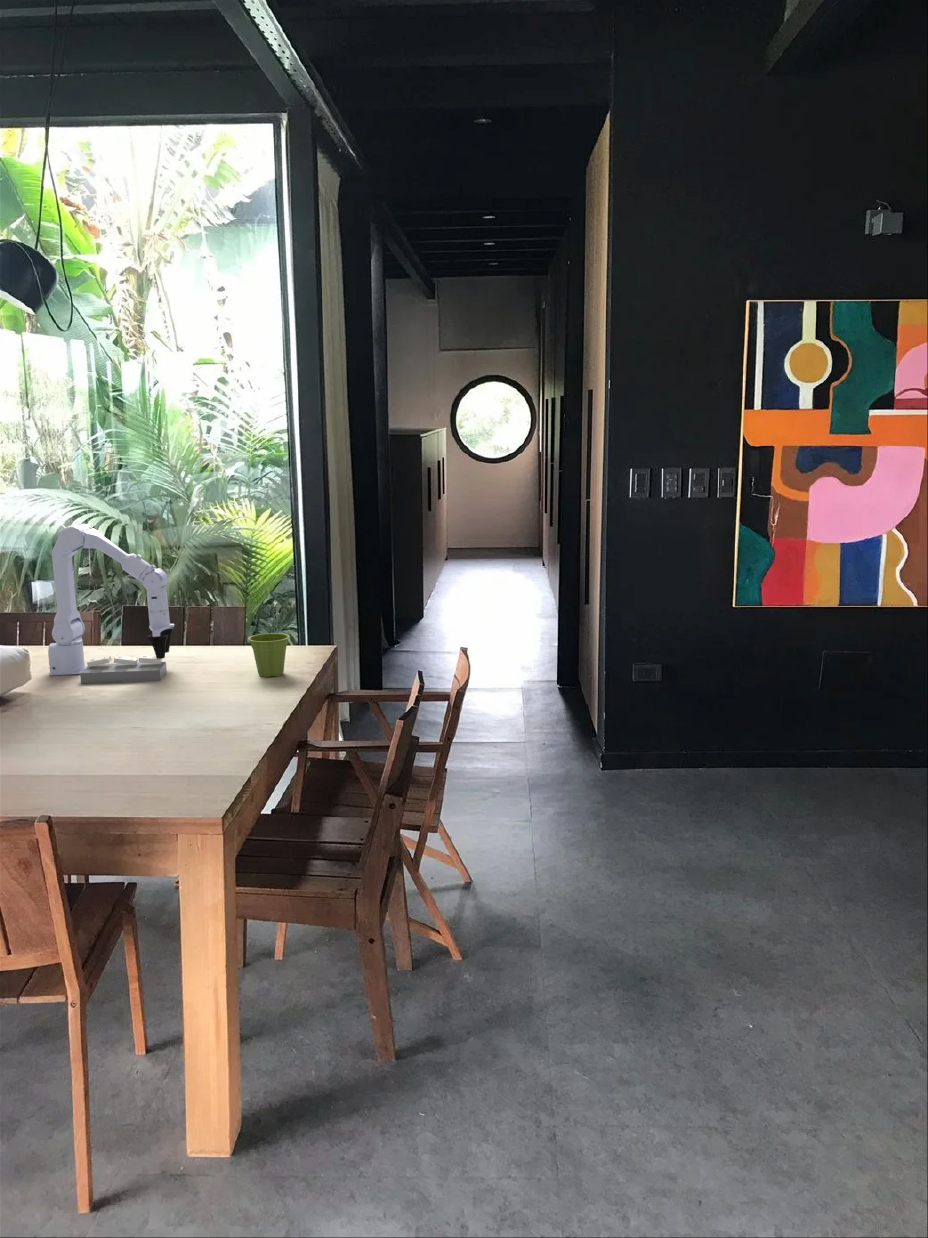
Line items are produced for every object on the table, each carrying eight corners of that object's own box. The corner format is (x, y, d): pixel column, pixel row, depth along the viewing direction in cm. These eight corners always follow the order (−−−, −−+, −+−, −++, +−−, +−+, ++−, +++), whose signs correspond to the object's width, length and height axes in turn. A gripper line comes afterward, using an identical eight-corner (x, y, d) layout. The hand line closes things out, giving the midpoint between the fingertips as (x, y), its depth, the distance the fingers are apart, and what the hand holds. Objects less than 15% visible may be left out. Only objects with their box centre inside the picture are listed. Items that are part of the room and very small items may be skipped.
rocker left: (87, 667, 281) (86, 662, 281) (90, 664, 284) (89, 659, 284) (108, 663, 281) (107, 658, 281) (111, 660, 285) (110, 655, 284)
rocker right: (138, 662, 282) (138, 657, 282) (140, 659, 286) (141, 654, 286) (159, 664, 283) (160, 659, 283) (161, 661, 287) (162, 656, 286)
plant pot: (295, 669, 290) (294, 632, 288) (284, 680, 278) (283, 641, 276) (257, 669, 291) (255, 632, 289) (244, 679, 280) (242, 641, 277)
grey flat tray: (81, 683, 276) (80, 672, 276) (89, 674, 286) (88, 664, 285) (160, 680, 279) (159, 669, 278) (166, 671, 289) (165, 661, 288)
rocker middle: (113, 662, 282) (114, 658, 281) (116, 660, 285) (116, 655, 285) (135, 665, 282) (135, 660, 282) (137, 662, 286) (137, 657, 286)
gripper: (168, 614, 279) (172, 660, 282) (176, 605, 293) (180, 649, 296) (143, 615, 278) (147, 661, 281) (152, 606, 292) (156, 650, 295)
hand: (163, 655), depth 288 cm, fingers open, 7 cm apart
